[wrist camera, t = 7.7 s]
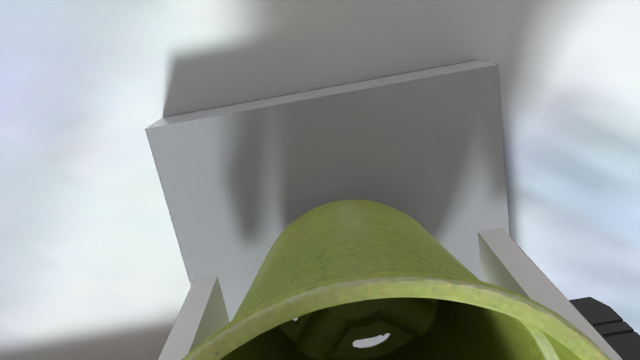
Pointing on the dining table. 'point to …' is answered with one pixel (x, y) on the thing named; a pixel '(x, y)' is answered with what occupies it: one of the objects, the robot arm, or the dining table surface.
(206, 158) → the stone coaster
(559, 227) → the dining table surface
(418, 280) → the plant pot
